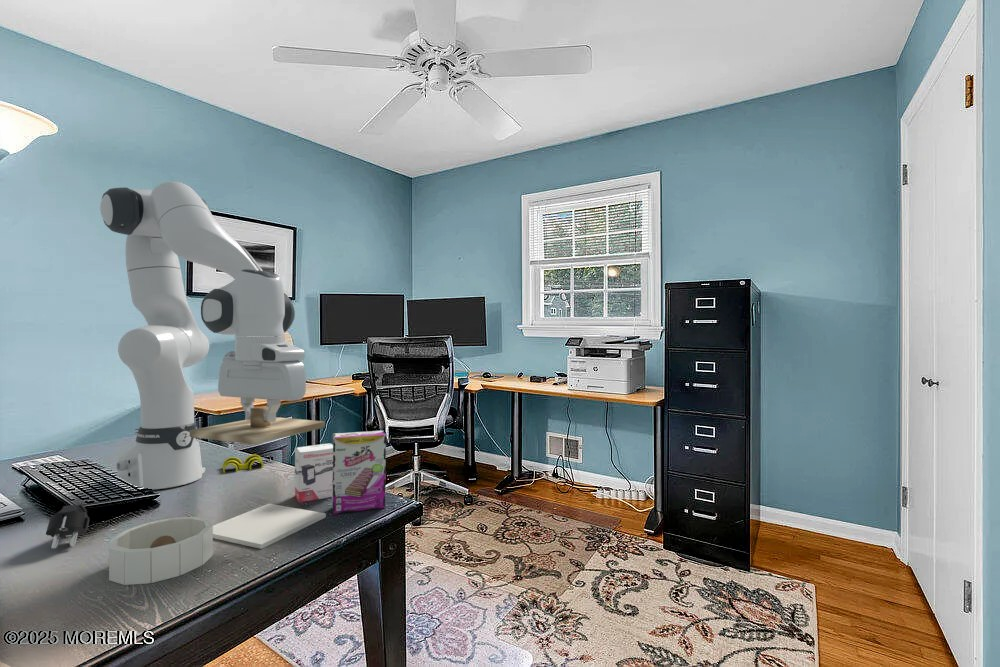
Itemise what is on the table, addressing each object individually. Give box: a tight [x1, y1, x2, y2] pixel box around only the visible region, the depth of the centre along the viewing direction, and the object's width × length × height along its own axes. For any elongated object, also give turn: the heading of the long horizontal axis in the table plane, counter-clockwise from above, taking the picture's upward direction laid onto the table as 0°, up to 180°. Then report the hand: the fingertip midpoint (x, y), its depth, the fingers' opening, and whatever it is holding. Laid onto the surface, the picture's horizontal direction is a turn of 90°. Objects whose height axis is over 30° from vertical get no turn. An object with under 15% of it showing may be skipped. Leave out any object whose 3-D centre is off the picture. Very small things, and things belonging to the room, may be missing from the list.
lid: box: [190, 406, 326, 445], centre depth 96 cm, size 17×17×5 cm
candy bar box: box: [331, 430, 387, 515], centre depth 106 cm, size 11×5×16 cm, turn 110°
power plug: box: [45, 503, 90, 550], centre depth 90 cm, size 6×8×12 cm
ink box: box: [294, 443, 333, 504], centre depth 113 cm, size 8×5×12 cm, turn 123°
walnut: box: [150, 536, 176, 548], centre depth 81 cm, size 4×4×4 cm
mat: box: [212, 503, 327, 550], centre depth 97 cm, size 16×16×1 cm
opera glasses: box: [222, 453, 264, 474], centre depth 132 cm, size 10×5×5 cm, turn 121°
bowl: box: [108, 516, 214, 586], centre depth 81 cm, size 14×14×5 cm
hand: (260, 421), depth 96 cm, fingers closed on lid, 3 cm apart
